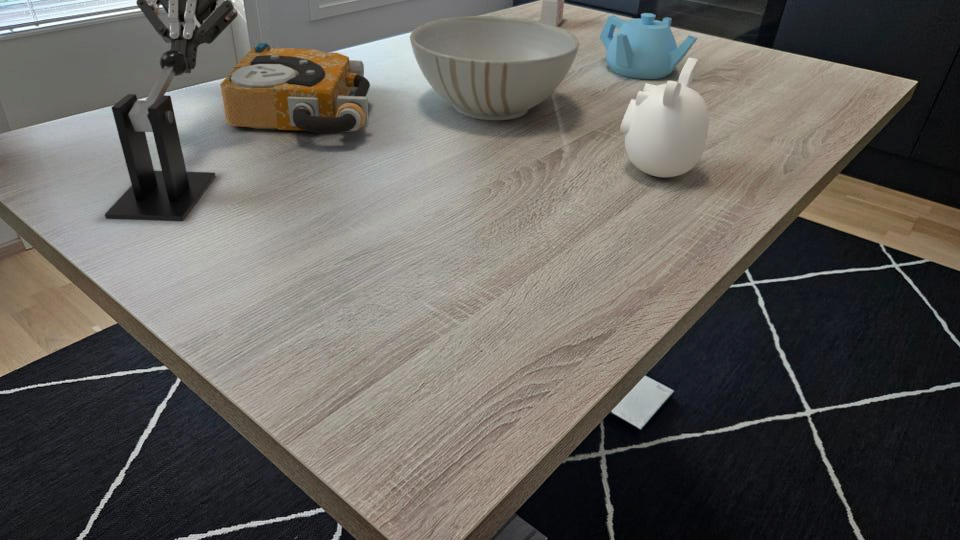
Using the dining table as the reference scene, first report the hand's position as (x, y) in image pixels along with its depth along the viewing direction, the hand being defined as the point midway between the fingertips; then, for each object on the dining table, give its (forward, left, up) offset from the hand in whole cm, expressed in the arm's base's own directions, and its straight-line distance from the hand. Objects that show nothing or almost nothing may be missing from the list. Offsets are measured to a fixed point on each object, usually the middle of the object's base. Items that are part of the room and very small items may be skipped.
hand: (181, 70), depth 91 cm
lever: (0, -7, -1) cm, 7 cm away
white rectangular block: (+56, +82, -13) cm, 100 cm away
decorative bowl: (+41, +23, -13) cm, 49 cm away
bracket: (0, -13, -12) cm, 18 cm away
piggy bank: (+64, 0, -13) cm, 65 cm away
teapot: (+71, +48, -13) cm, 87 cm away
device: (+11, +17, -13) cm, 24 cm away
